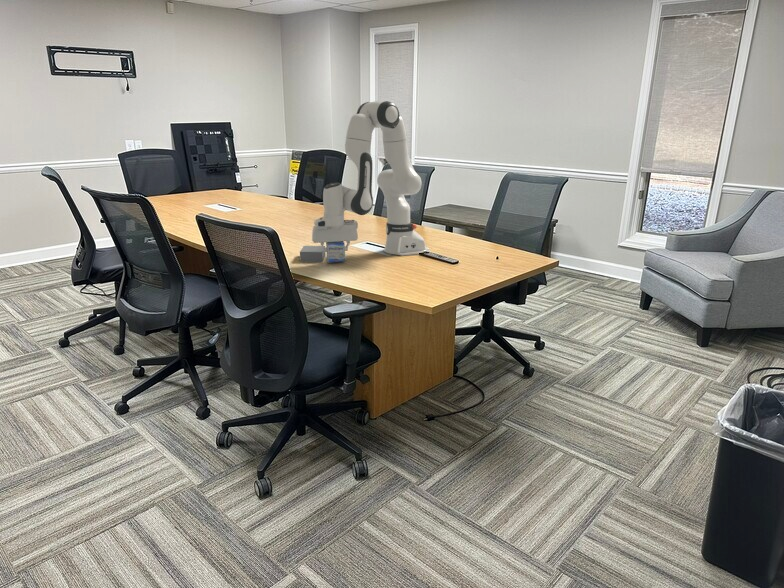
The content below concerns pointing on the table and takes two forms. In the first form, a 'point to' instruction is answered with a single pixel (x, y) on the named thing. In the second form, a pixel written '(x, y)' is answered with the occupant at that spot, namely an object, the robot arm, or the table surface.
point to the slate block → (312, 254)
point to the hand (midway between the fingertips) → (335, 251)
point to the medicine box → (335, 251)
